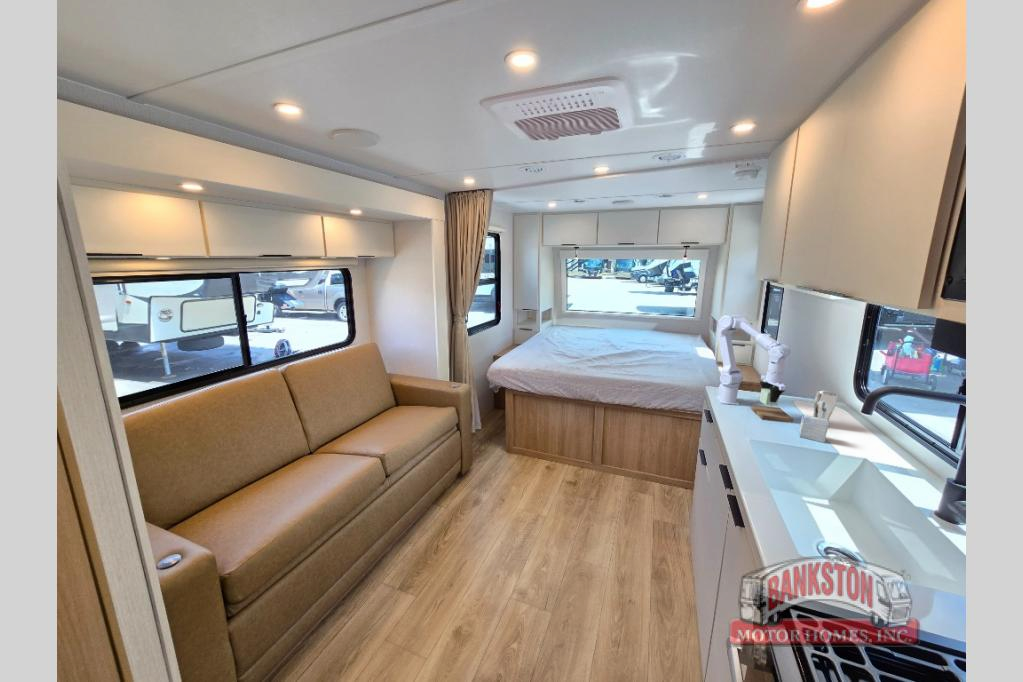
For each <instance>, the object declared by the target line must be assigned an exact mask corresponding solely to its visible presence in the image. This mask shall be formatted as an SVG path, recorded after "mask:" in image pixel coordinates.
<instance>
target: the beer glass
mask: <svg viewBox="0 0 1023 682" xmlns="http://www.w3.org/2000/svg"><path fill="white" fill-rule="evenodd" d="M837 399H838V394H837V393H834V392H833V391H829V390H822V389H819V390H817V392H816V394H815V397H814V402H813V417H817V418H822V419H827V421H828V423H829V424H830V418H831V415H832V414H833V412H834V410H835V408H836V404H837Z"/></svg>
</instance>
